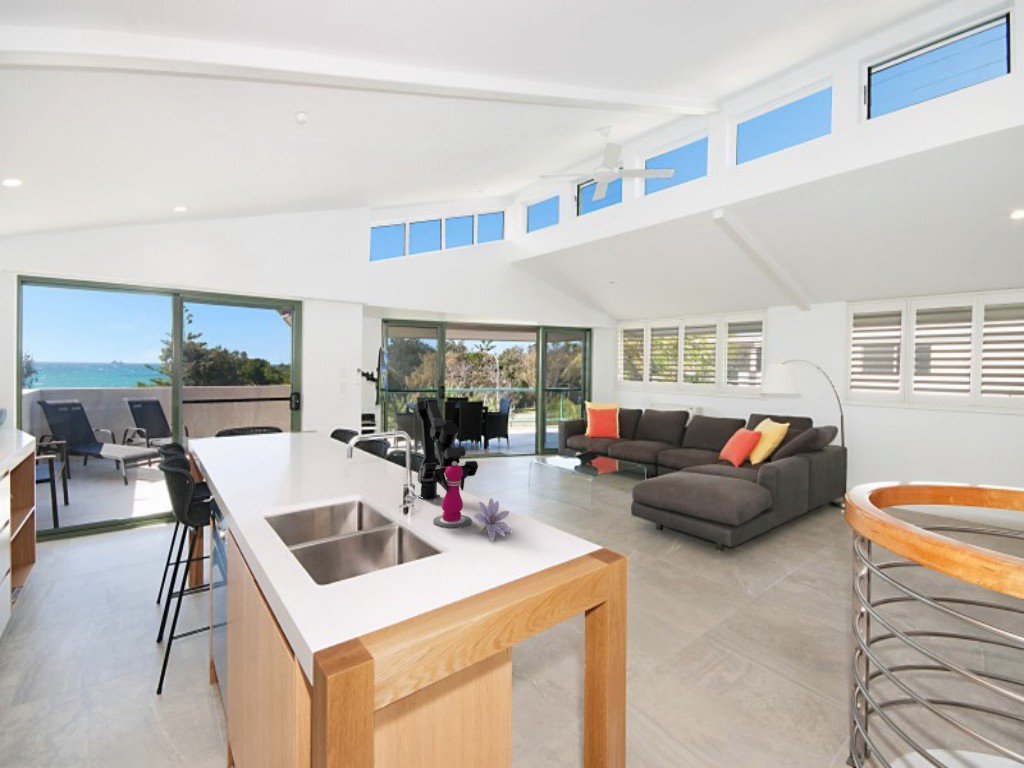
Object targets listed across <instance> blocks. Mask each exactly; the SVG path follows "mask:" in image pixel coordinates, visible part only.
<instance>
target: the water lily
mask: <svg viewBox="0 0 1024 768" xmlns="http://www.w3.org/2000/svg"><path fill="white" fill-rule="evenodd" d="M478 504H479V507H480V510H481V512H482V513H481V514H480V513H476V514H474V518H475V519H476V520H477V521H478V522H481V523H483V525H484V526H483V528H482V531H483V532H484V531H485V530H486V529H487V533H488V537H489V539H490V540H491V539H494V540H495V539H496V532H497V533H498V534H499V535H501V536H502V537H505V535H506V534H505V532H506V533H509V532H511V531H512V529H511V528H510V527H509V525H508V523H507V522H504V521H502V520H504V519H506V518H507V517H508V516H509V514H510V511H509V510H503V511H501V512H499V513H498V511H499V508H500V504H499V500H496V501H494V500H493V498H492V497H491V498H490V499H489V501H488V505H487V506H486V505H485V504H484V503H483V502H482V501H479V503H478ZM511 533H512V532H511Z"/></svg>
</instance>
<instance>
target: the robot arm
mask: <svg viewBox="0 0 1024 768" xmlns="http://www.w3.org/2000/svg"><path fill="white" fill-rule="evenodd" d="M414 412H415V413H416V417H417V420H418V421H419V422H420V424H421V435H422V436H421V439H422V450H423V459H422V461H421V463H420V468H419V470H418V473H417V482H418V483H419V484H420V486H421V487H420V495H419V496H421V497H423V498H422V499H425V500H434V499H437V498H440V497H441V495H440V494H438V492H437V491H438V484H439V485H440V486H441V487H442V488H443V489H444V491H446V492H448V485H447V482H446V479H447V478H446V476H445V471H446V468H447V467H449V466H451V465H452V462H453V461H456V462H457V466H460V467H461V468H462V470H463V476H462V477H461V478H460V479H461V484H460V486H459V489H460V490H461V491H464V488H465V479H467V477H474V476H475V475H476V473H477V471H478V468H479V464H478V462H477V461H476V460H466V461H464V462H465V463H464V464H463V465H458V464H460V459H461V457H463V458H464V457H465V456H466V454H467V453H466V447H465V446H459V447H454V446H453V444H455V443H456V439H457V437H458V434H459V429H460V428H459V426H458V425H457V424H456V423H454V422H452V420H447V419H446V420H445V419H444V417H443V414H442V412H441V410H440V407H439V402H438V399H436V398H426V399H423V400H418V401H417V402H416V403H415V405H414ZM435 441H436V442H435ZM435 446H436V447H435ZM436 451H437V454H438V458H437V456H436ZM446 492H445V493H446Z"/></svg>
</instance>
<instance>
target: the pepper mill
mask: <svg viewBox="0 0 1024 768" xmlns="http://www.w3.org/2000/svg"><path fill="white" fill-rule="evenodd" d="M460 466H461V465H459V466H457V462H456V461H453V462H452V465H451V466H449V467H447V468H446V471H445V473H444V475H445V479H446V482H447V485H448V492H445V496H444V498H443V500H442V501H441V502H442V503H441V509H442V511H443V512H442V515H443V519H444V520H445V521H450V522H454V521H459V520H460V519H461V515H462V512H461V511H462V510H463V508H464V501H463V498H462V496H461V493H460V484H461V479H460V478H461V477H462V476H463V470H462V468H461V467H460Z"/></svg>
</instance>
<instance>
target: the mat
mask: <svg viewBox="0 0 1024 768" xmlns="http://www.w3.org/2000/svg"><path fill="white" fill-rule="evenodd" d="M432 521H433V523H432V524H434V525H435V526H436V525H437V526H436V527H439V526H440V527H439V528H443V527H446V528H445V529H459V527H461V528H465V527H468V526H470V525H471V524H472V523H471V522H473V519H472V517H470V516H467V515H465V514H464V515H463V514H461V519H460V520H459V521H454V522H450V521H445V520H444V519H443V514H442V515H438V516H436V517H434V518H433V519H432ZM469 524H470V525H469ZM467 525H468V526H467ZM464 526H465V527H464Z"/></svg>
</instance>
